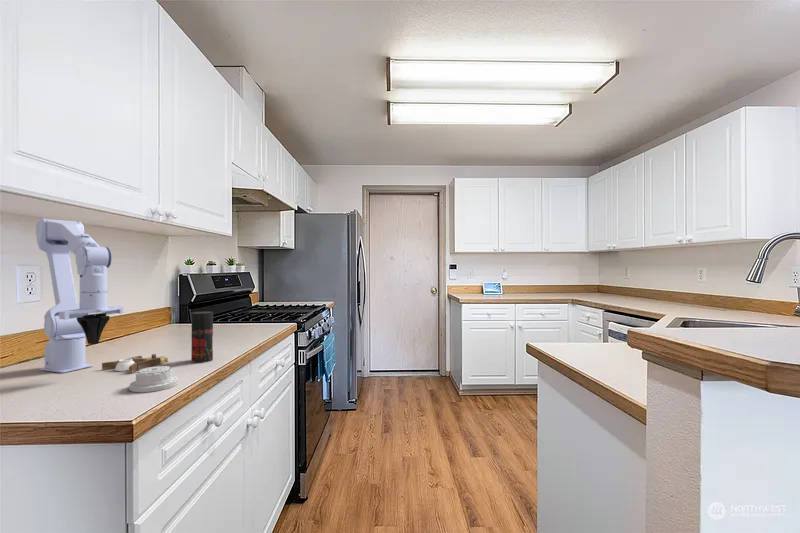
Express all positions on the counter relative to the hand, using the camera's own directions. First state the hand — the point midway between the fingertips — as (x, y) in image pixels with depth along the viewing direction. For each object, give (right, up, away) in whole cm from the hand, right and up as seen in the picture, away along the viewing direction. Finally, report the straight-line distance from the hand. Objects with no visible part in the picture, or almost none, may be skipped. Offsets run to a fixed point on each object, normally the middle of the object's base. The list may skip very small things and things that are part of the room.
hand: (93, 343), depth 101 cm
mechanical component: (+21, -10, -7) cm, 24 cm away
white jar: (+3, -9, +8) cm, 13 cm away
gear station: (+4, -9, +13) cm, 16 cm away
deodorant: (+19, -9, +19) cm, 28 cm away
